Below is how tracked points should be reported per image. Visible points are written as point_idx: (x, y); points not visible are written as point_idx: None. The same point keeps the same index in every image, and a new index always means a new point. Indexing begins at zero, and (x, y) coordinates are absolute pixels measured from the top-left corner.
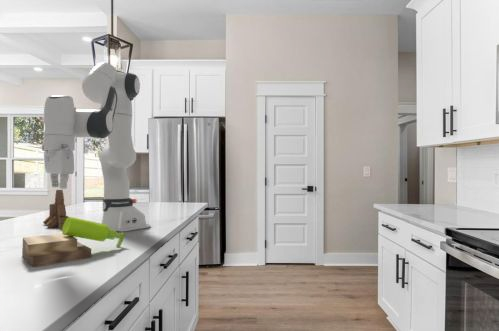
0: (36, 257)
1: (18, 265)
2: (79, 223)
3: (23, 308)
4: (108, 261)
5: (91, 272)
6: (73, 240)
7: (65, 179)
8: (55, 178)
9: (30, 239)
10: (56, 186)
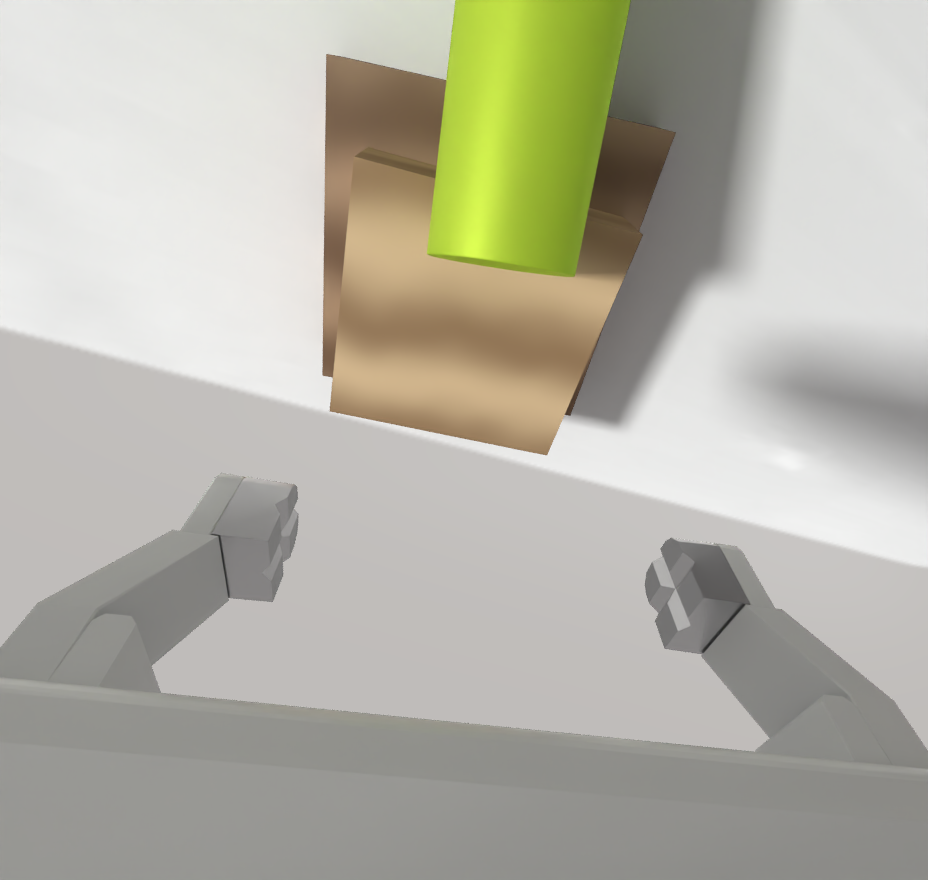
0: (573, 404)
1: None
2: (588, 191)
3: (898, 530)
4: (835, 108)
5: (877, 286)
6: (631, 257)
7: (822, 685)
8: (158, 609)
9: (417, 406)
10: (292, 506)
